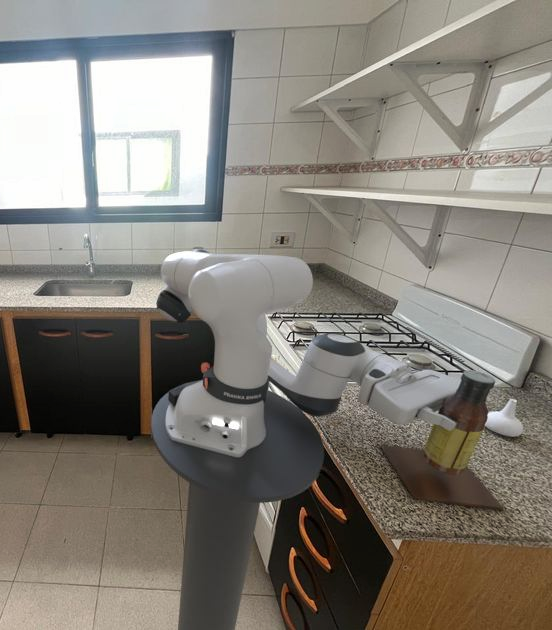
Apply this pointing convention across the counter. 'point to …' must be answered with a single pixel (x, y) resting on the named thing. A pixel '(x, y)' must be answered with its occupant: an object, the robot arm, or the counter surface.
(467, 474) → the walnut board
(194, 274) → the robot arm
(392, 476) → the counter surface
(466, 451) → the sauce bottle
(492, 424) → the garlic bulb
